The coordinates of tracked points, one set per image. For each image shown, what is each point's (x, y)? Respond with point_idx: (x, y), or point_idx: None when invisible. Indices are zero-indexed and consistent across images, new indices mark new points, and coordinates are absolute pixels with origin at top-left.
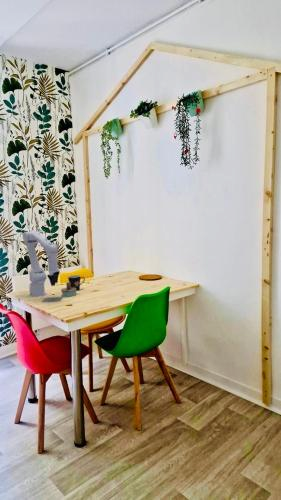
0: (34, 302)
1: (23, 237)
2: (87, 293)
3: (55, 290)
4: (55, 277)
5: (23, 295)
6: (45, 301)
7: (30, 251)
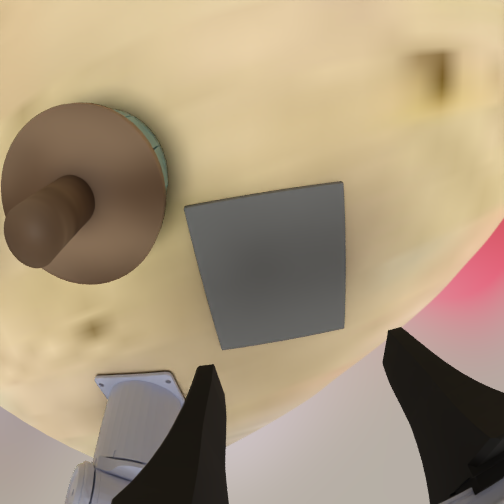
0: (322, 365)
1: None
2: (27, 32)
3: (12, 345)
4: (501, 396)
5: None
6: (329, 307)
7: None
